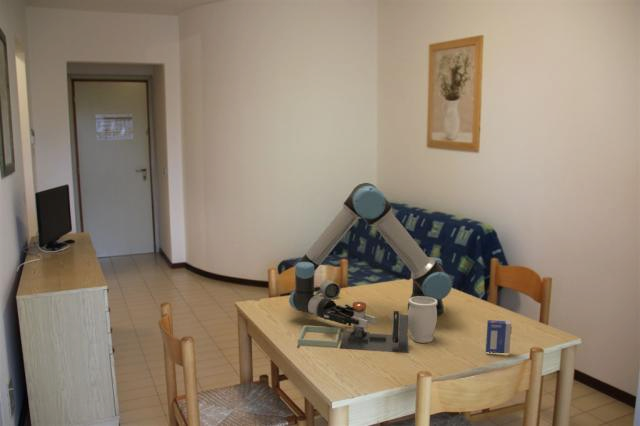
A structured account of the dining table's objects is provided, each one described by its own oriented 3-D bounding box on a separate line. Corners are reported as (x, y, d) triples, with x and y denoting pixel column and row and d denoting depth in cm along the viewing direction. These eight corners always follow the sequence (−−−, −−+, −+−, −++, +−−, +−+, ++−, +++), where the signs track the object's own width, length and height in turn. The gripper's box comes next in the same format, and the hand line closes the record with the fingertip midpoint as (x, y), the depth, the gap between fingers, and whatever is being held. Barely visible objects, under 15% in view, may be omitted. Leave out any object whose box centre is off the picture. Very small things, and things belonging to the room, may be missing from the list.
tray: (340, 335, 218) (340, 327, 217) (336, 349, 204) (337, 341, 203) (303, 332, 219) (303, 325, 219) (297, 347, 206) (297, 339, 205)
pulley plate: (407, 338, 215) (409, 303, 213) (408, 355, 200) (410, 318, 198) (343, 334, 219) (344, 299, 216) (339, 351, 203) (340, 314, 201)
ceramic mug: (333, 293, 268) (333, 277, 267) (340, 298, 260) (340, 282, 259) (312, 296, 264) (311, 279, 263) (318, 301, 257) (318, 284, 256)
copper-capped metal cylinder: (365, 335, 215) (366, 302, 213) (364, 340, 210) (365, 306, 208) (352, 334, 215) (353, 301, 213) (351, 339, 211) (352, 305, 208)
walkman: (486, 354, 202) (488, 321, 200) (485, 351, 204) (487, 318, 202) (510, 356, 200) (512, 323, 198) (508, 353, 203) (511, 320, 201)
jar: (418, 346, 208) (420, 306, 205) (401, 336, 217) (402, 298, 214) (441, 341, 213) (443, 302, 210) (424, 332, 222) (426, 294, 219)
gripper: (336, 311, 230) (384, 326, 215) (307, 322, 218) (355, 339, 202) (337, 293, 229) (385, 307, 213) (307, 303, 217) (356, 318, 201)
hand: (370, 322), depth 208 cm, fingers closed on copper-capped metal cylinder, 4 cm apart
